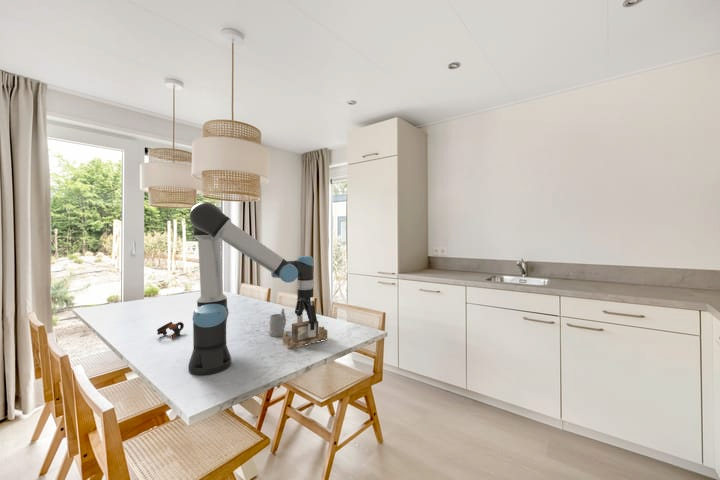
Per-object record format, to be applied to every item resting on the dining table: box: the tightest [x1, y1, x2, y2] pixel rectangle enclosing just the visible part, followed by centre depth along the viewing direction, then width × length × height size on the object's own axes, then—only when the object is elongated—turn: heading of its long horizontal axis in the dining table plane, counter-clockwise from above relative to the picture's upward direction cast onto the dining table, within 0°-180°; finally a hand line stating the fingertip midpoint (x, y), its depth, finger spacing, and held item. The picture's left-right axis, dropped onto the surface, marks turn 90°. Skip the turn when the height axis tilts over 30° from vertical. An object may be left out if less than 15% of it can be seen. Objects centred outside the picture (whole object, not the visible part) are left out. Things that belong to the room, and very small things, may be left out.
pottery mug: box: [156, 321, 185, 340], centre depth 157 cm, size 12×10×8 cm
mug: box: [268, 308, 287, 338], centre depth 161 cm, size 8×12×12 cm, turn 162°
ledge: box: [282, 326, 328, 350], centre depth 148 cm, size 20×7×6 cm, turn 124°
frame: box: [291, 320, 319, 343], centre depth 148 cm, size 12×4×8 cm, turn 124°
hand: (305, 332), depth 148 cm, fingers open, 13 cm apart
